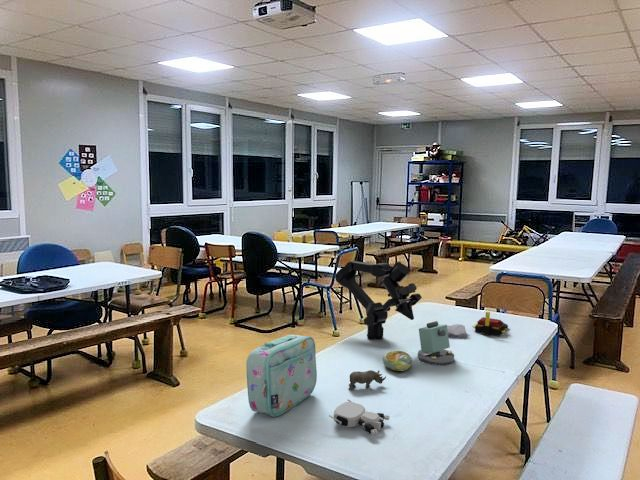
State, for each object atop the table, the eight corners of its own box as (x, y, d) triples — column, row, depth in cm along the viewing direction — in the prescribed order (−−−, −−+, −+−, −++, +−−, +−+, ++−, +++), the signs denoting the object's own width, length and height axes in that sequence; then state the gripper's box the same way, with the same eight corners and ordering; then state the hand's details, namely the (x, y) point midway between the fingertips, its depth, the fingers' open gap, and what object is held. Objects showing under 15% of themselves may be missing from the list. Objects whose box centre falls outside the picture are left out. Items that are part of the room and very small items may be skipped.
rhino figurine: (388, 387, 173) (388, 371, 172) (349, 391, 170) (350, 374, 169) (384, 383, 177) (384, 366, 176) (346, 386, 174) (346, 369, 173)
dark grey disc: (410, 357, 202) (410, 350, 201) (433, 350, 210) (433, 343, 210) (438, 368, 191) (439, 361, 190) (461, 360, 199) (461, 353, 199)
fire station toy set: (469, 333, 235) (470, 310, 233) (482, 323, 251) (483, 301, 250) (502, 339, 227) (503, 315, 225) (512, 328, 243) (514, 305, 242)
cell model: (414, 354, 198) (414, 353, 184) (408, 374, 197) (408, 374, 182) (387, 346, 201) (385, 344, 186) (381, 366, 199) (379, 365, 185)
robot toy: (390, 425, 149) (345, 410, 156) (392, 411, 148) (346, 396, 155) (374, 444, 138) (326, 427, 145) (376, 429, 137) (327, 412, 144)
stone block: (468, 342, 227) (464, 331, 237) (468, 332, 226) (464, 322, 235) (440, 342, 228) (438, 331, 238) (441, 332, 227) (438, 322, 236)
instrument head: (421, 351, 199) (417, 324, 200) (437, 346, 206) (434, 319, 206) (437, 353, 193) (434, 324, 194) (453, 347, 199) (450, 320, 200)
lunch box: (270, 425, 146) (270, 354, 143) (243, 416, 151) (242, 347, 149) (319, 393, 168) (320, 330, 166) (294, 386, 174) (294, 325, 171)
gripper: (388, 279, 205) (408, 312, 197) (419, 274, 216) (439, 305, 209) (374, 295, 212) (393, 327, 205) (404, 289, 223) (423, 319, 216)
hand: (412, 319), depth 208 cm, fingers closed
